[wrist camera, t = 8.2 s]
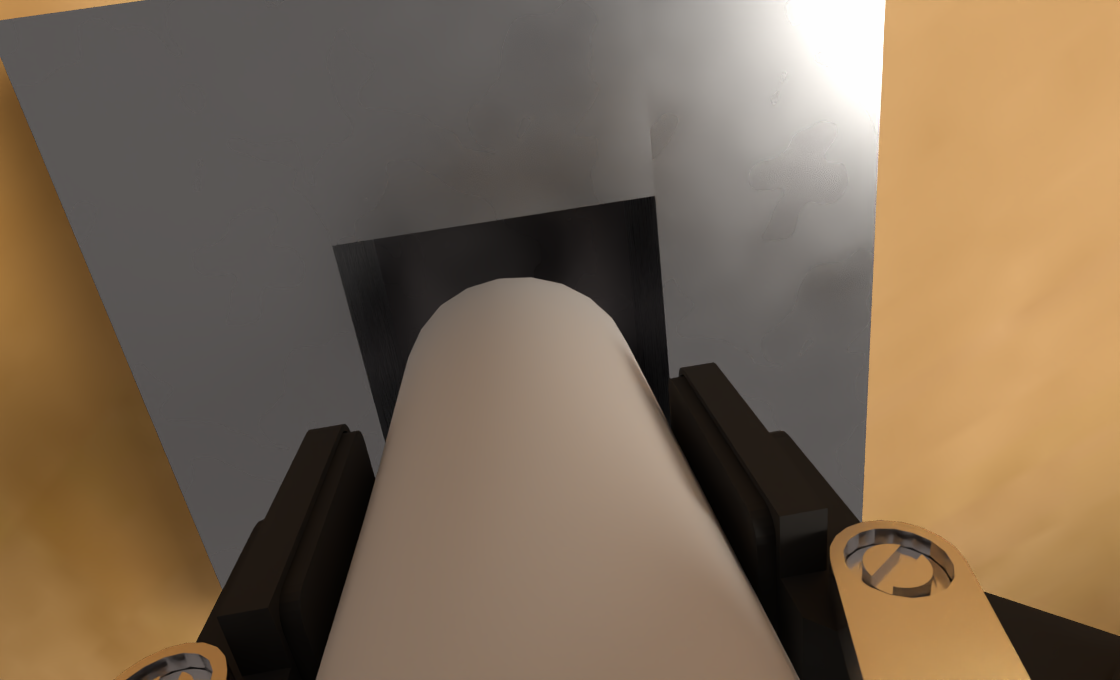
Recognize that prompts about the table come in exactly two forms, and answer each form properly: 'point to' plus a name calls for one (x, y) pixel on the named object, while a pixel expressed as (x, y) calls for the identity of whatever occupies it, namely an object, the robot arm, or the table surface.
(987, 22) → the table surface
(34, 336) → the table surface
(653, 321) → the socket block
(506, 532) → the beverage can
